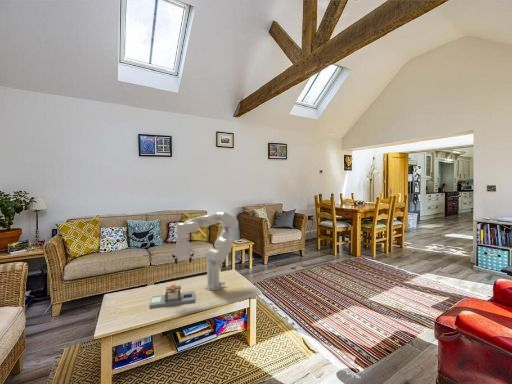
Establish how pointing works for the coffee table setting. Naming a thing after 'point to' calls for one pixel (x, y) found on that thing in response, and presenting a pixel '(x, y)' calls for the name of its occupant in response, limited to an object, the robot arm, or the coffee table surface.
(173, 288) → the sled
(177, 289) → the tunnel
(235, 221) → the robot arm
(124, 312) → the coffee table surface
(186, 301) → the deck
